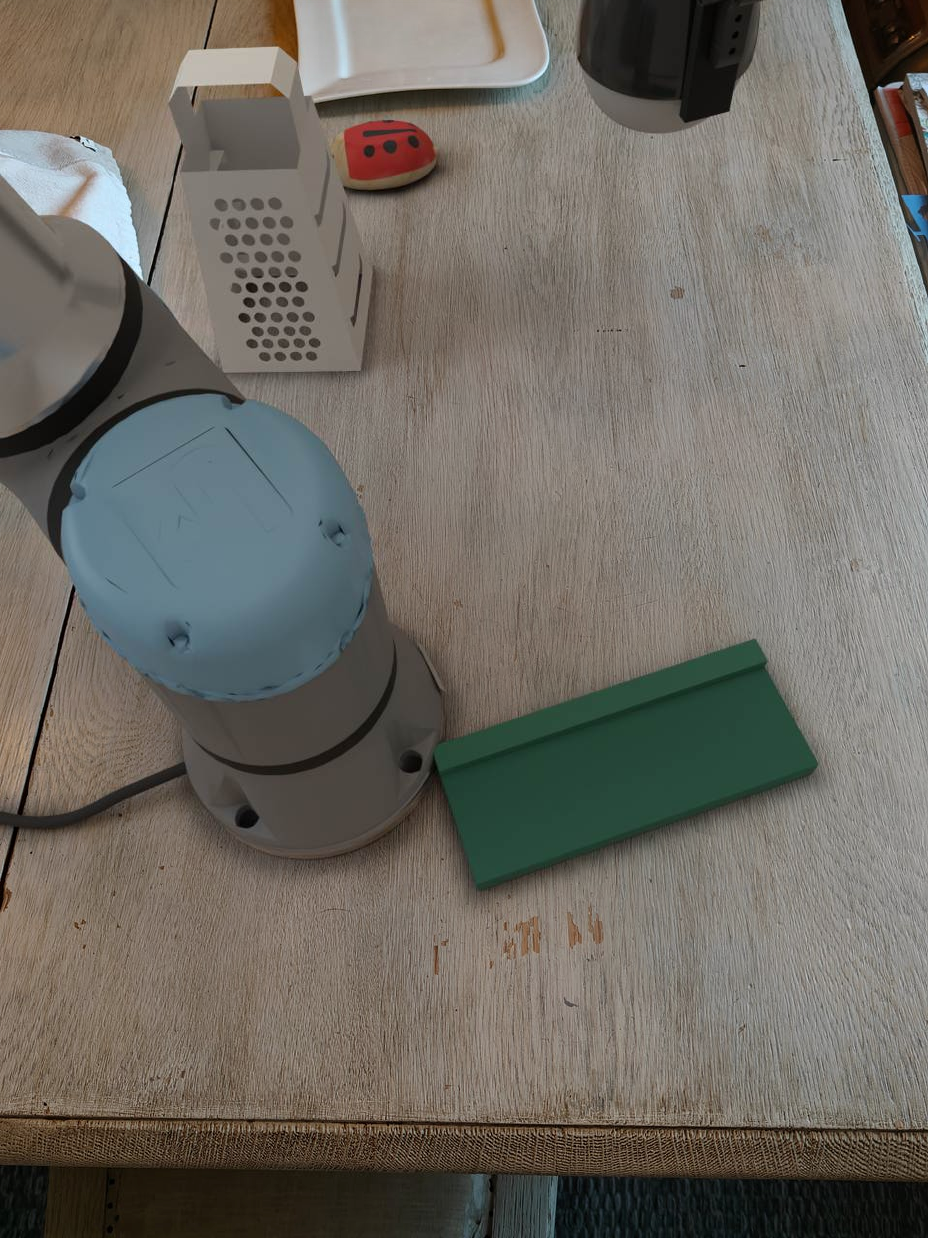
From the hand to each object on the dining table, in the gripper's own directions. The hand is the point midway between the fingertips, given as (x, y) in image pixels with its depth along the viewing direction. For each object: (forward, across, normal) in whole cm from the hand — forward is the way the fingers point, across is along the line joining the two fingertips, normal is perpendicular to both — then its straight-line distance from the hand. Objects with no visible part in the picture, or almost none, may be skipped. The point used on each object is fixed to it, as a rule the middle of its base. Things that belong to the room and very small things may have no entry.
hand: (662, 61), depth 56 cm
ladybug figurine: (+19, +24, +12) cm, 33 cm away
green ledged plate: (+20, -33, +15) cm, 41 cm away
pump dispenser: (+3, 0, 0) cm, 3 cm away
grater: (+20, +9, +24) cm, 32 cm away
